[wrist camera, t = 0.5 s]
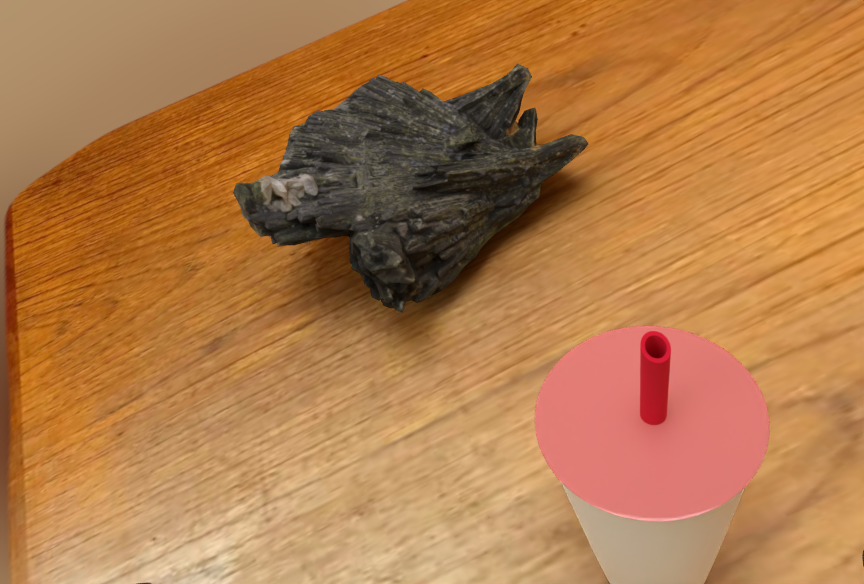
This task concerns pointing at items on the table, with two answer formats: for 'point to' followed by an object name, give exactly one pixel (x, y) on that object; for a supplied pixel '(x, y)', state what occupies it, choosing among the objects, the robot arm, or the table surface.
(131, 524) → the table surface
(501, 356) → the table surface
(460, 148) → the mineral specimen
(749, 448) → the cup
